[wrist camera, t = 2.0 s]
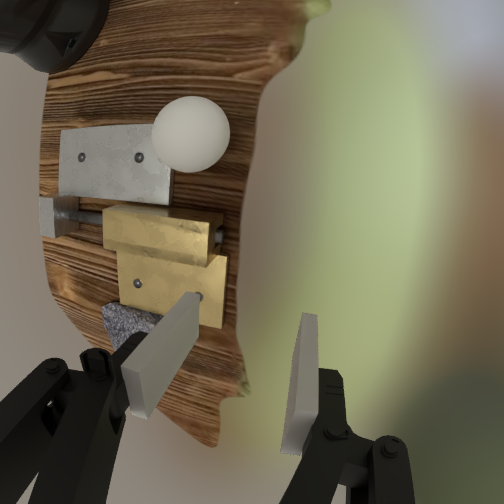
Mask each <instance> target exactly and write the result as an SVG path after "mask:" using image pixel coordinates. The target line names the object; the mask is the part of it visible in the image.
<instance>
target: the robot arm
mask: <svg viewBox="0 0 504 504" xmlns="http://www.w3.org/2000/svg"><path fill="white" fill-rule="evenodd" d="M107 12H108V0H0V52H4V53H10V54H15V55H16V56H18V57H19V58H21V59H22V60H23V61H24V62H26V63H27V64H29V65H30V66H31V67H33V68H34V69H35V70H38V71H41V72H46V73H57V72H60V71H63V70H65V69H66V68H68V67H69V66H71V65H72V64H73V63H75V62H76V61H77V60H78V59H79V58H80V57H81V56H82V55H83V54H84V53H85V52H86V51H87V49H88V48H89V47H90V46H91V44H92V43H93V41H94V40H95V38H96V37H97V35H98V33H99V32H100V30H101V28H102V26H103V23H104V21H105V18H106V15H107ZM199 303H200V294H197V293H192V292H187V291H186V292H185V293H184V294H183V296H182V297H181V298H180V299H179V300H178V301H177V302H176V303H175V305H174V306H173V307H172V308H171V309H170V310H169V311H168V312H167V313H166V315H165V316H164V317H163V318H162V319H161V320H160V321H159V323H158V324H157V325H156V326H155V327H154V328H153V329H152V330H151V332H150V333H146V332H143V331H138V332H136V333H134V334H132V335H130V336H129V337H128V338H127V339H126V341H125V343H123V344H122V345H121V346H120V348H118V349H117V350H116V351H115V352H114V353H113V354H112V355H110V353H109V352H108V351H107V350H105V349H101V348H91V349H87V350H86V351H84V352H82V353H81V354H80V360H81V363H82V367H83V370H84V371H77V370H71V369H68V366H67V364H66V363H65V361H64V360H62V359H60V358H50V359H46V360H45V361H43V362H42V363H41V364H40V365H39V366H37V367H36V368H35V369H34V370H33V371H32V372H31V373H30V374H29V375H28V376H27V377H26V378H25V379H24V380H22V382H20V383H19V384H18V385H17V386H16V387H15V388H14V389H13V390H12V391H11V392H10V393H9V394H8V395H7V396H6V397H5V398H4V399H3V400H2V401H1V402H0V504H16V503H17V501H18V500H19V498H20V497H21V495H22V494H23V493H24V491H25V490H26V489H27V487H28V486H29V484H30V483H31V482H32V480H33V479H34V478H35V476H36V475H37V473H38V472H39V473H38V476H37V479H36V482H35V484H34V487H33V490H32V493H31V496H30V499H29V502H28V504H106V499H107V495H108V490H109V485H110V481H111V476H112V472H113V468H114V463H115V459H116V455H117V451H118V447H119V443H120V439H121V436H122V431H123V428H124V424H125V421H126V415H125V411H126V409H127V408H128V406H130V410H131V414H133V415H136V416H138V417H141V418H144V419H147V420H148V419H149V417H150V415H151V414H152V412H153V410H154V409H155V407H156V406H157V404H158V402H159V401H160V399H161V397H162V396H163V394H164V393H165V391H166V389H167V388H168V386H169V384H170V383H171V381H172V379H173V378H174V376H175V375H176V373H177V371H178V370H179V368H180V366H181V365H182V363H183V361H184V360H185V358H186V357H187V355H188V353H189V352H190V350H191V348H192V347H193V345H194V344H195V342H196V340H197V339H198V337H199ZM343 387H344V386H343V378H342V377H341V375H340V374H339V372H338V370H332V369H324V368H318V326H317V315H314V314H308V313H302V316H301V321H300V326H299V330H298V335H297V339H296V344H295V348H294V352H293V358H292V367H291V377H290V385H289V392H288V400H287V408H286V416H285V423H284V430H283V438H282V444H281V451H280V453H283V454H292V455H299V456H300V454H301V452H302V459H301V461H300V464H299V465H298V467H297V469H296V471H295V474H294V476H293V478H292V480H291V482H290V484H289V486H288V488H287V489H286V491H285V493H284V495H283V497H282V499H281V501H280V503H279V504H331V501H332V499H333V496H334V493H335V491H336V488H337V485H338V484H341V485H344V486H346V504H415V497H414V490H413V482H412V475H411V469H410V463H409V457H408V451H407V448H406V445H405V443H404V442H403V441H402V440H401V439H399V438H397V437H395V436H389V435H387V436H382V437H380V438H378V439H377V440H376V441H372V440H369V439H365V438H362V437H360V436H358V435H356V434H355V433H353V432H352V430H351V428H350V426H349V425H348V424H347V421H346V408H345V397H344V389H343ZM50 401H51V402H52V403H51V404H50V405H48V406H47V404H48V403H49V402H50Z"/></svg>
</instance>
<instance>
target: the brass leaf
mask: <svg viewBox="0 0 504 504" xmlns="http://www.w3.org/2000/svg"><path fill="white" fill-rule="evenodd" d="M223 215H224V214H222V213H215V212H207V211H199V210H191V209H183V208H175V207H166V206H158V205H149V204H140V203H130V202H126V203H123V204H119V205H116V206H112V207H109V208H106V209H103V244H104V249H109V250H114V251H117V267H118V282H119V294H120V304H123V305H126V306H130V307H133V308H137V309H141V310H144V311H148V312H152V313H156V314H160V315H163V316H165V315H166V313H167V312H168V311H169V310H170V309H171V308H172V307H173V306H174V305H175V303H176V302H177V301H178V300H179V299H180V298H181V297H182V296H183V294H184V293H185V292H186V291H187V292H192V293H197V294H200V303H199V324H201V325H206V326H210V327H215V328H220V329H222V327H223V325H224V313H225V300H226V287H227V275H228V263H229V254H226V253H220V252H221V244H218V243H215V234H216V229H217V228H218V227H219V226H221V225H222V224H223Z"/></svg>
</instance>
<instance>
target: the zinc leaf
mask: <svg viewBox="0 0 504 504" xmlns="http://www.w3.org/2000/svg"><path fill="white" fill-rule="evenodd" d="M152 128H153V124H130V125H111V126H98V127H87V128H77V129H68V130H61V139H60V156H59V192H57V193H53V194H48V195H44V196H40V197H38V207H39V225H40V235H42V236H46V237H51V238H57V237H60V236H62V235H65V234H68V233H70V232H73V231H75V230H78V229H80V222H82V223H89V224H95V225H102V226H103V214H100V213H92V212H84V211H79V196H81V197H92V198H103V199H114V200H124V201H134V202H143V203H153V204H162V205H170V204H172V199H173V183H174V169H172V168H170V167H168V166H167V165H166V164H164V163H163V162H162V161H161V159H160V158H159V157H158V156H157V154H156V152H155V151H154V148H153V145H152ZM224 238H225V231H224V230H217V229H216V234H215V243H218V244H223V242H224Z"/></svg>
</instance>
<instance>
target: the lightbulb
mask: <svg viewBox="0 0 504 504" xmlns="http://www.w3.org/2000/svg"><path fill="white" fill-rule="evenodd" d="M229 139H230V128H229V122H228V120H227V117H226V115H225V113H224V112H223V110H222V109H221V108H220V107H219V106H218V105H217V104H215V103H214V102H212V101H210V100H209V99H206V98H203V97H197V96H188V97H182V98H179V99H176V100H174V101H172V102H170V103H169V104H168V105H166V106H165V107H164V108H163V109H162V110H161V111H160V112H159V114H158V116H157V117H156V119H155V121H154V124H153V128H152V145H153V148H154V151H155V152H156V154H157V156H158V157H159V158H160V159H161V161H162V162H163V163H164V164H166V165H167V166H168V167H170V168H172V169H174V170H177V171H181V172H198V171H202V170H204V169H207V168H209V167H210V166H212V165H213V164H215V163H216V162H217V161H218V160H219V159H220V158H221V157H222V155H223V154H224V152H225V151H226V148H227V146H228V143H229Z"/></svg>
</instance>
